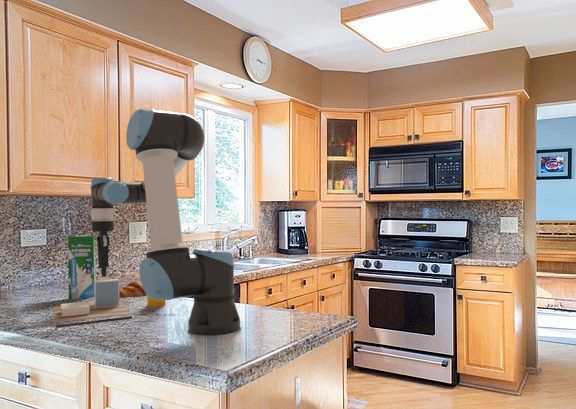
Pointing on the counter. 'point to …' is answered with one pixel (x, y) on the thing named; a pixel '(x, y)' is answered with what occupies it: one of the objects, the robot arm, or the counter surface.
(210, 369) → the counter surface
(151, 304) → the beer can
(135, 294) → the croissant
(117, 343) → the counter surface
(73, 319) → the board
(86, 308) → the tile
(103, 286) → the tile
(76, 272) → the milk carton
